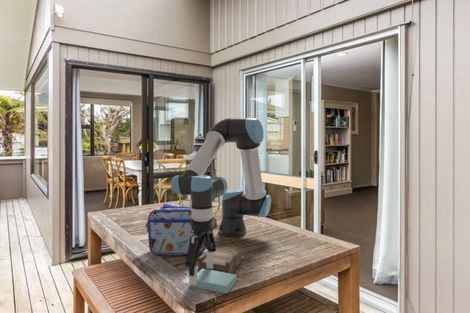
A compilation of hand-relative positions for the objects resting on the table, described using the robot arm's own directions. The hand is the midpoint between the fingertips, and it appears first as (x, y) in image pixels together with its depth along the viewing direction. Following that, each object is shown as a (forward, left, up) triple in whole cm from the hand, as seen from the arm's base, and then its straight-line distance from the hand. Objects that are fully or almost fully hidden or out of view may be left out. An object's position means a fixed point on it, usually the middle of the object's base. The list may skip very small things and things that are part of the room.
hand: (201, 275), depth 118 cm
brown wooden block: (-15, +1, -2) cm, 15 cm away
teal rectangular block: (0, +5, -2) cm, 6 cm away
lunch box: (-21, -23, -2) cm, 31 cm away
